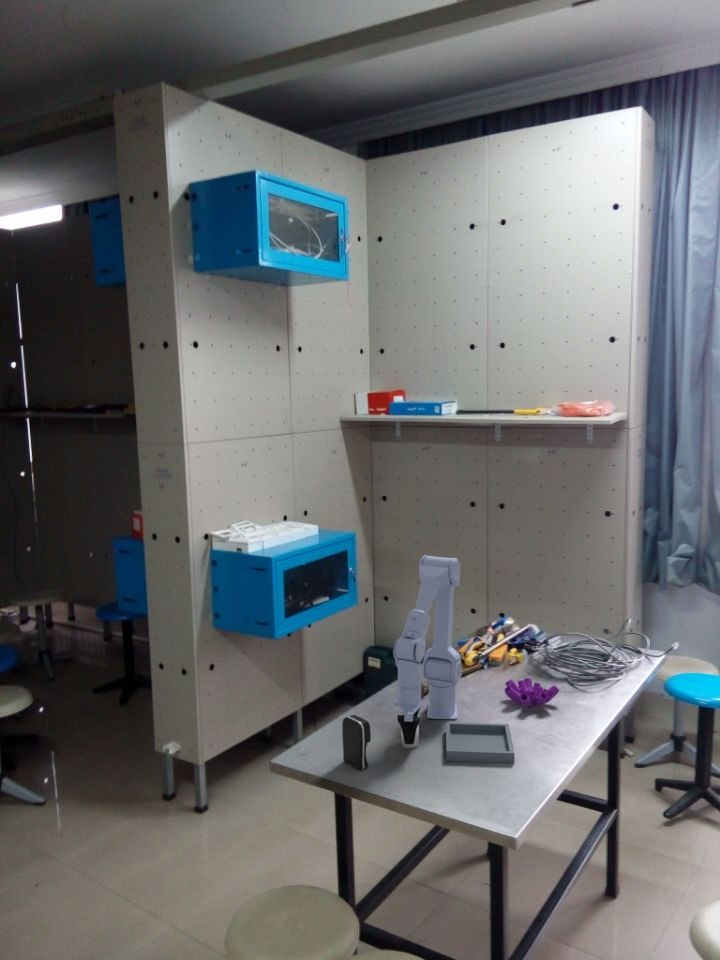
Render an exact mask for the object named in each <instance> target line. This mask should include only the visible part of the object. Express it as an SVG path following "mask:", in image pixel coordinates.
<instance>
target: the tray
mask: <svg viewBox="0 0 720 960" xmlns="http://www.w3.org/2000/svg"><path fill="white" fill-rule="evenodd" d="M511 735H512V734H511V729H510V725H509V723H489V722H488V723H486V722H485V723H483V722H454V721H449V722H447V721H446V722H445V745H446V747H445V748H446V749H445V752H446V755H445V757H446V758H445V760H446V762H465V763H466V762H467V763H469V762H470V763H471V762H472V763H491V764H492V763H494V764H515V749H514V744H513V739H512V736H511Z"/></svg>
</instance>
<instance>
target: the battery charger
mask: <svg viewBox="0 0 720 960" xmlns="http://www.w3.org/2000/svg"><path fill="white" fill-rule="evenodd" d="M341 726H342V728H341V729H342V749H343V750H342V751H343V755H342V756H343V757H342V758H343V761H344V762H345V763H347V764H348V765H350V766H352V767H354V768H356V769H357V770H360V771H362V770H364V769H366V768H368V767H369V762H368V760H367V746H368V744H369V743H371V741H372V738H371V737H372V735H371V734H372V733H371V725H370V722H369V721H368V720H367V719H365V718H363V717H361V716H358V715H357V714H353V715H348V716H346V717H343V719H342V725H341Z"/></svg>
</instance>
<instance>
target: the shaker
mask: <svg viewBox="0 0 720 960" xmlns="http://www.w3.org/2000/svg"><path fill="white" fill-rule="evenodd" d="M419 725H420V723H419V724H418V727H417V729H416V734H415V740H414V744H405V741H404V737H403V732H402V729H401V728H400V733H401V734H400V741H401V743H400V744H401V747H403V748H405V749H416V748H418V747H419V746H420V731H419V730H420V729H419Z"/></svg>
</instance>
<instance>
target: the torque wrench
mask: <svg viewBox="0 0 720 960" xmlns="http://www.w3.org/2000/svg"><path fill="white" fill-rule="evenodd" d="M484 665H485V664H484ZM484 665H481V664H480V663H479V664H475V665H473V666H470V667H467V668H465V669H462V675H461V677H462V676H465V675H467V674H471V673H474V672H476V671H478V670H481V669H483V668H482V667H484V668H485V666H486V665H485V666H484ZM428 691H429V683H427V681H422V680H421V698H422V697H423V696H424V695H425V694H426V693H427V692H428Z"/></svg>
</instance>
